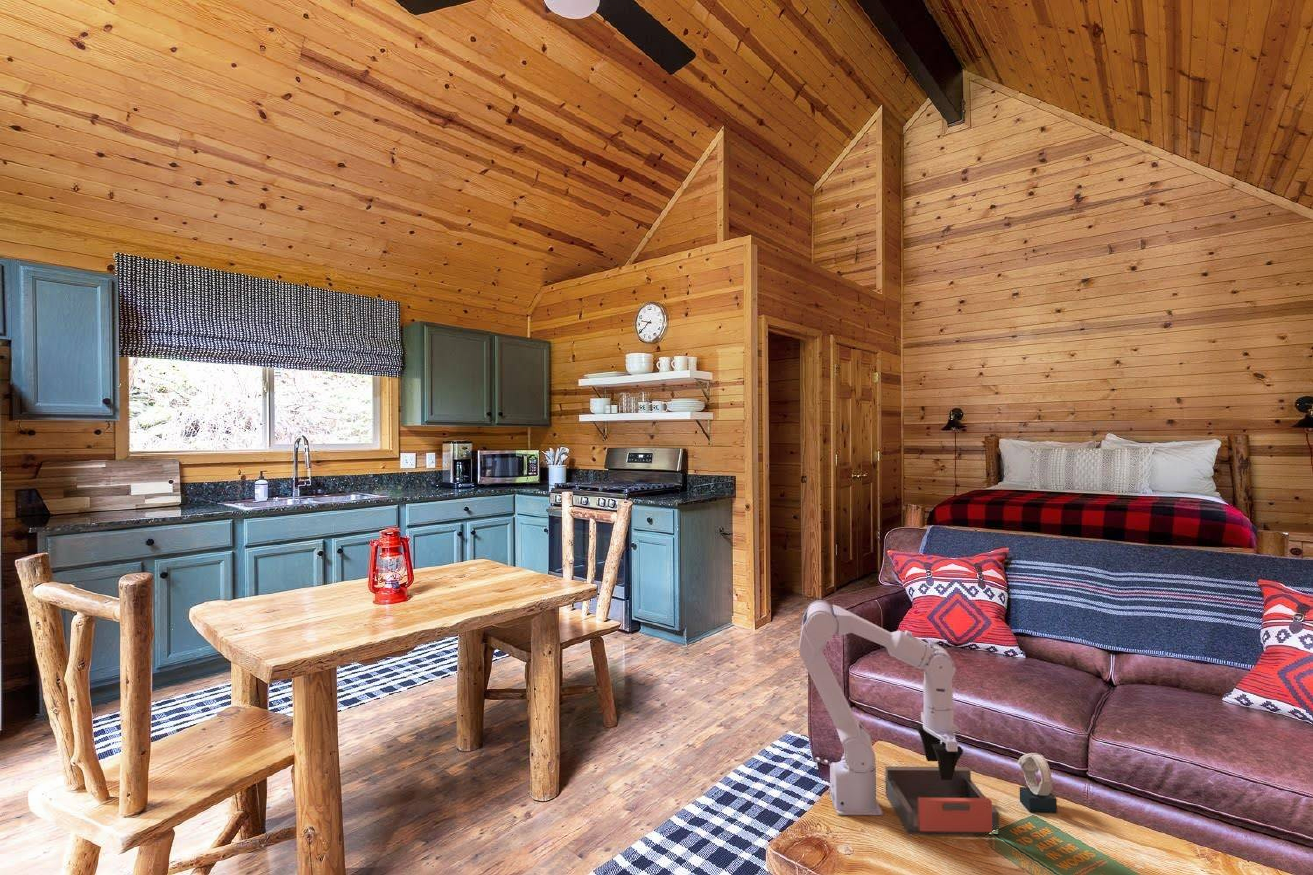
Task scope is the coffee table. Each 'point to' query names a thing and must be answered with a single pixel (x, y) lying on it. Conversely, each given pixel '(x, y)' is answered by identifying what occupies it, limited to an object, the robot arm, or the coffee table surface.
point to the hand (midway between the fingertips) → (938, 769)
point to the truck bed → (928, 793)
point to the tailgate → (955, 814)
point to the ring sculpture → (1034, 794)
